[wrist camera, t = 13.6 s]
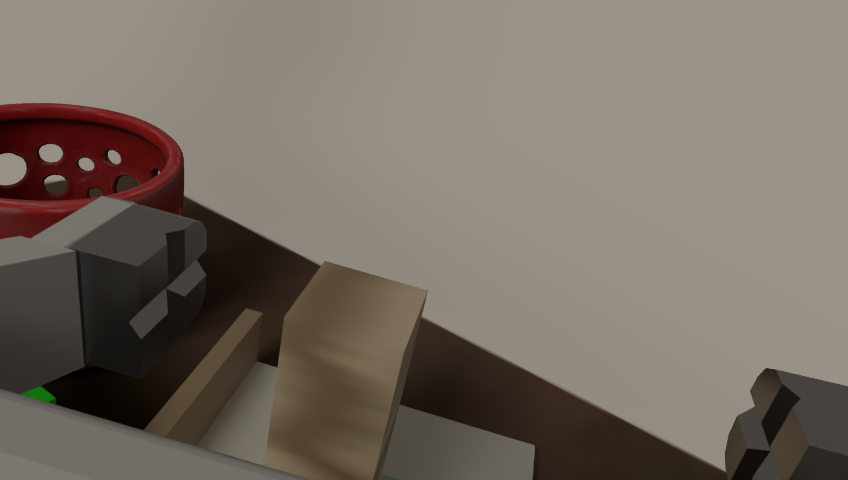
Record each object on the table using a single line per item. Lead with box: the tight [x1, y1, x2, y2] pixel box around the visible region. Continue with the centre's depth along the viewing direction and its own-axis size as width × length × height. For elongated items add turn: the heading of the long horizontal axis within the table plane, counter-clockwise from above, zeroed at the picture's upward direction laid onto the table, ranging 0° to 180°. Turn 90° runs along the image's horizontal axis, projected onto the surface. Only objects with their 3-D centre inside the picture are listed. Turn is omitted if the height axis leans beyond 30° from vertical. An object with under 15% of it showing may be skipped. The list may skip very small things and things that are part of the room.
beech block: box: [264, 261, 428, 480], centre depth 29 cm, size 4×4×12 cm
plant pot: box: [0, 103, 184, 371], centre depth 38 cm, size 13×13×12 cm
